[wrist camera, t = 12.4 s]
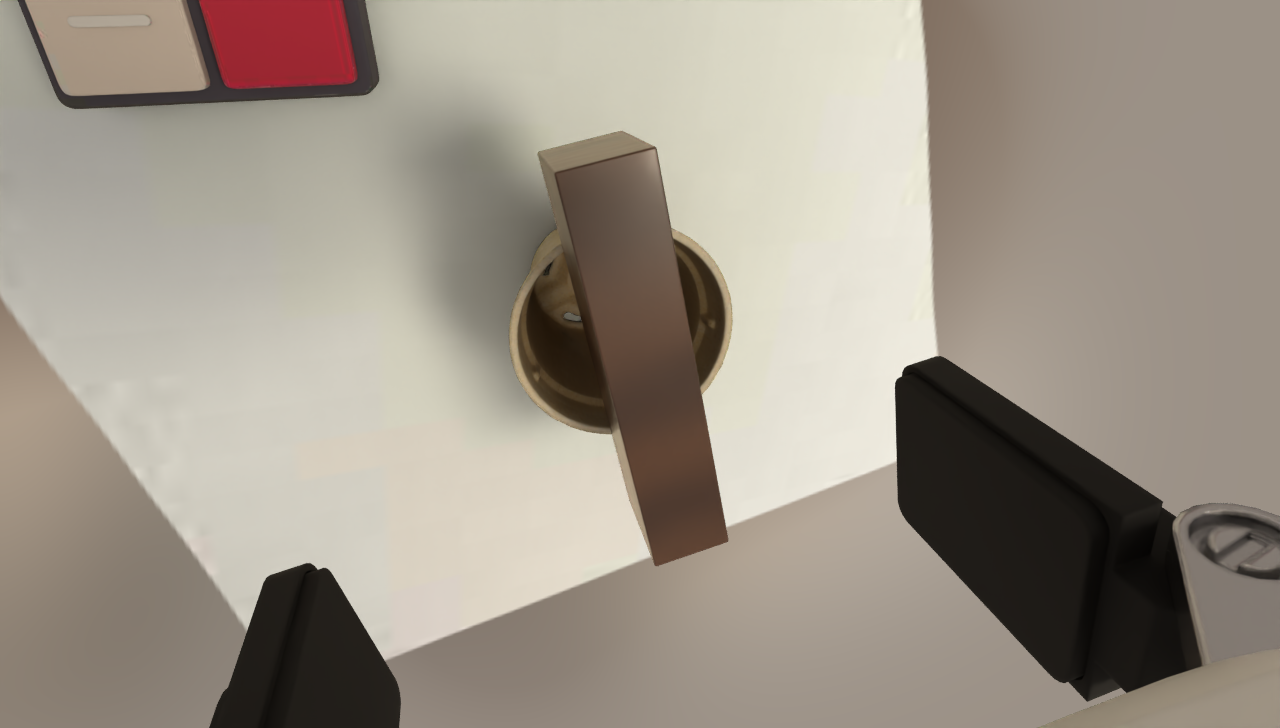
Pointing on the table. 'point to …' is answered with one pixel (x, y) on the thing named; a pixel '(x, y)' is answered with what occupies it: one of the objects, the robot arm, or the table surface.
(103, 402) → the table surface
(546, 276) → the flower pot
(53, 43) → the calculator
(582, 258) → the brown wooden block
